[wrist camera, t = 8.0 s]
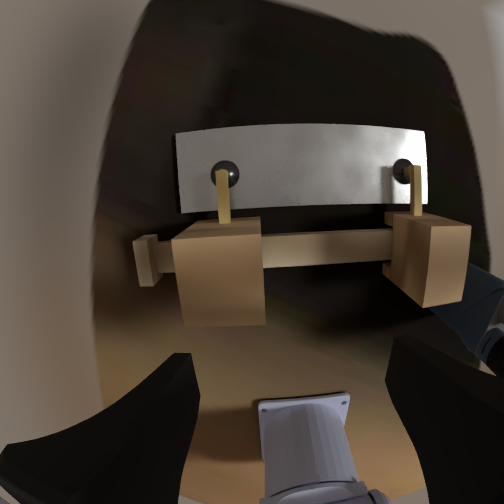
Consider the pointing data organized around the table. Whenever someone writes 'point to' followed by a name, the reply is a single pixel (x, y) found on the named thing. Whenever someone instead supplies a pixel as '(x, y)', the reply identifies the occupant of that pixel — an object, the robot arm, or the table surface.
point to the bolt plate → (298, 165)
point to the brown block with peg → (220, 268)
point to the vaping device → (479, 317)
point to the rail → (278, 250)
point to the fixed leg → (427, 251)
